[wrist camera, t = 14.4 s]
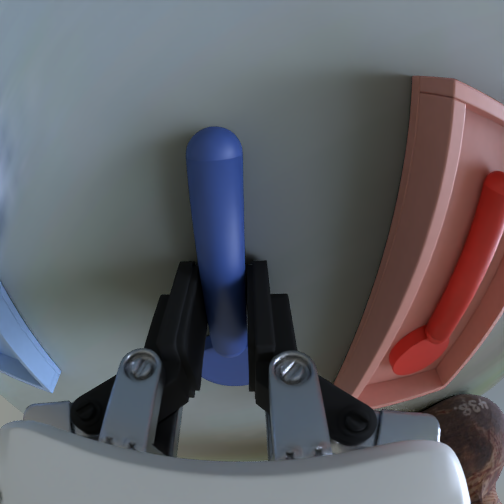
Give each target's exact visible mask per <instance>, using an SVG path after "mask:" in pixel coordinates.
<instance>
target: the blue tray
mask: <svg viewBox="0 0 504 504" xmlns="http://www.w3.org/2000/svg"><path fill="white" fill-rule="evenodd" d="M0 372H2V373H4V374H6V375H8V376H10V377H12V378H15V379H17V380H19V381H22V382H24V383H26V384H29V385H31V386H34V387H36V388H39V389H42V390H44V391H47V392H50V393H53V391H54V388H55V386H56V383H57V381H58V378H59V375H60V373H61V371H60V369H59V368H58V367H57V366H56V365H55V363H54V362H53V361H52V360H51V358H50V357H49V356H48V354H47V353H46V352H45V351H44V349H43V348H42V347H41V345H40V344H39V343H38V341H37V340H36V338H35V337H34V336H33V334H32V333H31V331H30V330H29V328H28V327H27V325H26V324H25V322H24V321H23V319H22V318H21V316H20V315H19V313H18V311H17V310H16V308H15V306H14V305H13V303H12V301H11V300H10V298H9V296H8V294H7V293H6V291H5V289H4V287H3V285H2V283H1V281H0Z"/></svg>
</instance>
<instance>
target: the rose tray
mask: <svg viewBox="0 0 504 504" xmlns="http://www.w3.org/2000/svg"><path fill="white" fill-rule="evenodd" d="M493 171H502V172H504V105H503V104H502V103H500V102H498V101H497V100H495V99H493V98H491V97H490V96H488V95H486V94H484V93H482V92H481V91H479V90H477V89H475V88H473V87H471V86H469V85H467V84H465V83H463V82H461V81H458V80H456V79H453V78H443V77H430V76H412V94H411V109H410V120H409V129H408V137H407V145H406V152H405V159H404V165H403V171H402V176H401V182H400V187H399V192H398V197H397V202H396V206H395V211H394V215H393V219H392V223H391V227H390V231H389V235H388V239H387V243H386V246H385V250H384V253H383V257H382V260H381V263H380V267H379V270H378V273H377V276H376V279H375V282H374V286H373V288H372V291H371V294H370V297H369V300H368V303H367V306H366V308H365V311H364V314H363V316H362V319H361V322H360V324H359V327H358V329H357V332H356V334H355V337H354V339H353V342H352V344H351V346H350V349H349V351H348V353H347V356H346V358H345V360H344V362H343V365H342V367H341V369H340V371H339V373H338V375H337V378H336V380H335V382H334V385H335V386H337V387H338V388H340V389H342V390H343V391H345V392H347V393H348V394H350V395H352V396H353V397H355V398H357V399H358V400H360V401H362V402H363V403H365V404H367V405H368V406H370V407H371V408H372V409H377V408H381V407H385V406H389V405H393V404H397V403H400V402H404V401H407V400H411V399H414V398H417V397H421V396H424V395H427V394H430V393H433V392H436V391H438V390H441V389H444V388H445V387H446V386H447V385H448V384H449V383H450V382H451V381H452V379H453V378H454V377H455V376H456V375H457V374H458V373H459V372H460V370H461V369H462V368H463V367H464V366H465V365H466V363H467V362H468V361H469V360H470V359H471V357H472V356H473V355H474V354H475V352H476V351H477V350H478V348H479V347H480V346H481V344H482V343H483V342H484V340H485V339H486V338H487V336H488V335H489V333H490V332H491V331H492V329H493V328H494V326H495V325H496V323H497V322H498V320H499V319H500V317H501V316H502V314H503V312H504V231H503V234H502V236H501V239H500V241H499V244H498V246H497V249H496V251H495V254H494V256H493V258H492V261H491V263H490V265H489V267H488V269H487V271H486V274H485V276H484V278H483V280H482V282H481V284H480V286H479V288H478V290H477V291H476V293H475V295H474V297H473V299H472V301H471V302H470V304H469V306H468V308H467V309H466V311H465V313H464V315H463V316H462V318H461V320H460V321H459V323H458V324H457V326H456V328H455V329H454V331H453V332H452V334H451V335H450V337H449V344H448V346H447V348H446V350H445V351H444V352H443V354H442V355H441V356H440V357H439V358H438V359H436V360H435V361H434V362H433V363H431V364H430V365H428V366H427V367H425V368H423V369H421V370H419V371H417V372H415V373H412V374H408V375H397V374H395V373H394V372H393V370H392V367H391V365H390V362H389V354H390V352H391V350H392V348H393V347H394V346H395V345H396V344H397V343H398V342H399V341H400V340H401V339H402V338H403V337H405V336H406V335H407V334H409V333H410V332H412V331H414V330H415V329H417V328H419V327H422V326H424V325H427V323H428V321H429V319H430V318H431V316H432V314H433V312H434V310H435V308H436V307H437V305H438V303H439V301H440V299H441V297H442V295H443V293H444V291H445V289H446V287H447V285H448V282H449V280H450V278H451V276H452V274H453V271H454V269H455V267H456V264H457V262H458V260H459V257H460V255H461V252H462V250H463V247H464V245H465V242H466V239H467V236H468V234H469V231H470V228H471V225H472V222H473V219H474V216H475V212H476V209H477V206H478V202H479V199H480V195H481V191H482V187H483V183H484V180H485V178H486V176H487V175H488V174H489V173H491V172H493Z"/></svg>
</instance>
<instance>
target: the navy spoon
mask: <svg viewBox="0 0 504 504" xmlns="http://www.w3.org/2000/svg"><path fill="white" fill-rule="evenodd" d="M186 165H187V175H188V186H189V195H190V204H191V213H192V221H193V229H194V237H195V244H196V252H197V259H198V266H199V272H200V279H201V285H202V292H203V298H204V304H205V309H206V315H207V321H208V326H209V332H210V335H209V336H207V337H206V341H205V349H204V358H203V367H202V376H201V377H203V378H204V379H206V380H208V381H211V382H213V383H216V384H220V385H227V386H243V385H249V368H248V334H247V314H246V279H245V240H244V195H243V152H242V146H241V143H240V141H239V139H238V138H237V137H236V135H235V134H234V133H232V132H231V131H230V130H228V129H225V128H222V127H207V128H204V129H202V130H200V131H199V132H197V133H196V134H195V135H194V136H193V137H192V138H191V140H190V141H189V143H188V146H187V149H186Z"/></svg>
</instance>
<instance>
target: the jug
mask: <svg viewBox="0 0 504 504" xmlns="http://www.w3.org/2000/svg"><path fill="white" fill-rule="evenodd" d="M421 413H427V414H431V415H433V416H434V417H436V418H437V420H438V422H439V425H440V442H441V443H444V444H446V445H448V446H449V447H450V448H451V449H452V450H453V451H454V453H455V454H456V456H457V458H458V460H459V462H460V464H461V467H462V469H463V472H464V476H465V479H466V483H467V487H468V491H469V496H470V502H471V504H502V503H501V502H500V500H499V499H498V496H497V493H496V488H495V484H496V481H497V480H498V478H499V476H500V473H501V471H502V469H503V466H504V414H503V413H502V411H501V410H500V409H499V407H498V406H497V405H496V404H495V403H493V402H492V401H491V400H489V399H488V398H485V397H481V396H478V395H472V394H459V395H456V396H453V397H451V398H449V399H445V400H443V401H441V402H439V403H438V404H436V405H434V406H432V407H430V408H428V409H426V410H425V411H423V412H421Z"/></svg>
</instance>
